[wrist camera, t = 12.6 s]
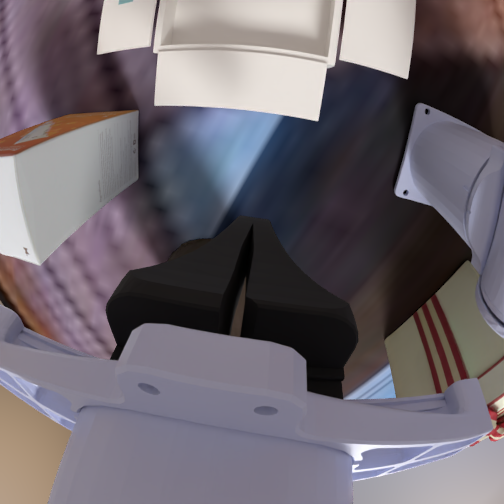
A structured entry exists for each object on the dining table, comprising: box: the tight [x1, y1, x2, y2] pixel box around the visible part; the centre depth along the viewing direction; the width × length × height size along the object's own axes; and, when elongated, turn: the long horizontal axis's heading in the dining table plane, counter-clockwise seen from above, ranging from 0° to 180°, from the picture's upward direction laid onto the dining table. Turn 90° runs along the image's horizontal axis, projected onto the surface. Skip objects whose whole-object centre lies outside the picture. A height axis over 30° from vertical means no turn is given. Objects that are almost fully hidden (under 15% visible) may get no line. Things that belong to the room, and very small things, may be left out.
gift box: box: [385, 260, 504, 446], centre depth 21 cm, size 17×18×17 cm
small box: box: [0, 110, 139, 265], centre depth 15 cm, size 8×6×13 cm
